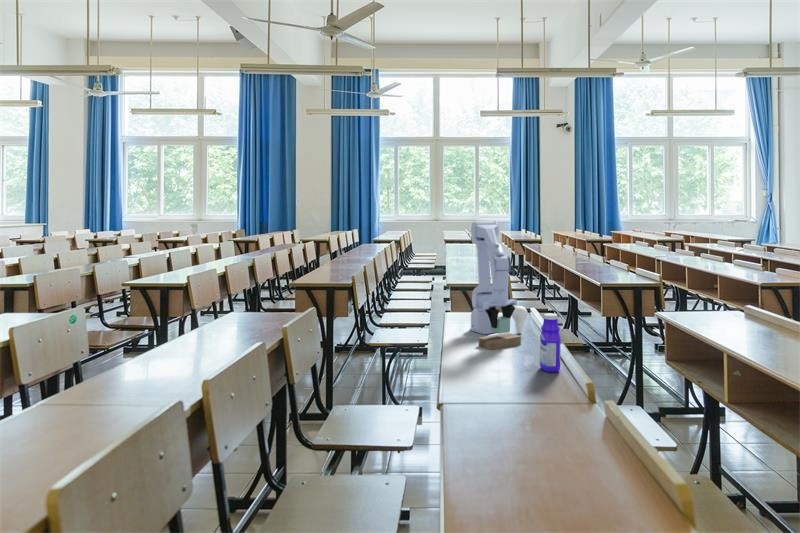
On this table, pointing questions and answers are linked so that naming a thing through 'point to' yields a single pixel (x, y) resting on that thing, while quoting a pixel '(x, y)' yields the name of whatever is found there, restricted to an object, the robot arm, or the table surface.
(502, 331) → the teal cube
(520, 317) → the lightbulb
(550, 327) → the bottle
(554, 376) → the table surface
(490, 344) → the pencil box
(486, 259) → the robot arm
